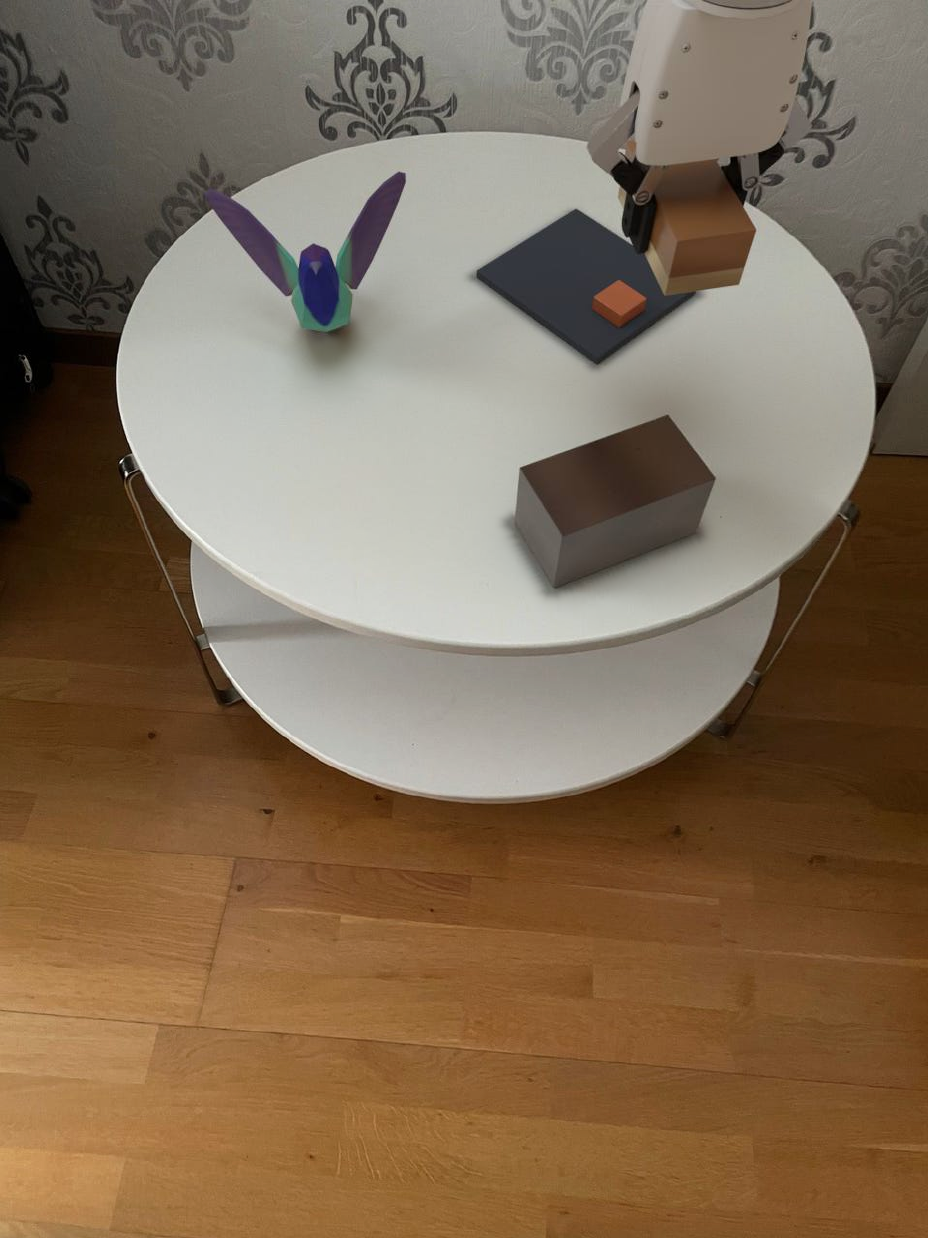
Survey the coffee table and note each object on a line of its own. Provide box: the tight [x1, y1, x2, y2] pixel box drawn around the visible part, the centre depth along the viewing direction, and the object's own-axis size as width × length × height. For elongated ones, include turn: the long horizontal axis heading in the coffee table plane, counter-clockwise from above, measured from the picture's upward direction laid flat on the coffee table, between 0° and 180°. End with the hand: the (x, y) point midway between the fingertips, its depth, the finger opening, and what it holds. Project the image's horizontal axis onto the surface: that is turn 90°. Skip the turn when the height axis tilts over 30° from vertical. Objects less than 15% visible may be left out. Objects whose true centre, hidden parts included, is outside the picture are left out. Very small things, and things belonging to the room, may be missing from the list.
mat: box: [476, 208, 697, 365], centre depth 91 cm, size 16×14×1 cm
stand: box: [514, 414, 717, 589], centre depth 74 cm, size 13×7×7 cm, turn 115°
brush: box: [617, 139, 757, 296], centre depth 67 cm, size 11×6×4 cm, turn 12°
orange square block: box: [592, 280, 646, 328], centre depth 88 cm, size 4×4×2 cm
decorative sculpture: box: [204, 171, 407, 333], centre depth 81 cm, size 17×18×15 cm
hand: (677, 233), depth 68 cm, fingers closed on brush, 5 cm apart
